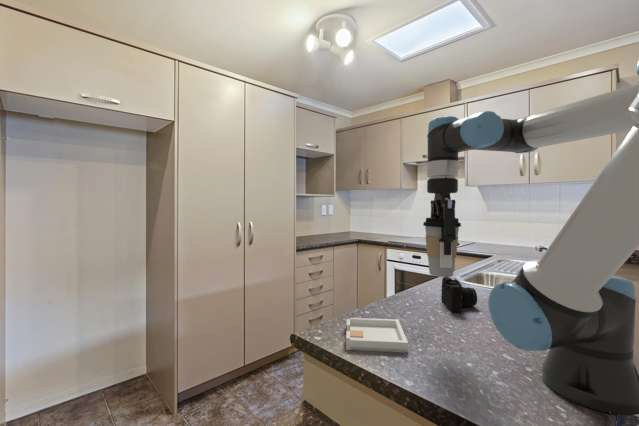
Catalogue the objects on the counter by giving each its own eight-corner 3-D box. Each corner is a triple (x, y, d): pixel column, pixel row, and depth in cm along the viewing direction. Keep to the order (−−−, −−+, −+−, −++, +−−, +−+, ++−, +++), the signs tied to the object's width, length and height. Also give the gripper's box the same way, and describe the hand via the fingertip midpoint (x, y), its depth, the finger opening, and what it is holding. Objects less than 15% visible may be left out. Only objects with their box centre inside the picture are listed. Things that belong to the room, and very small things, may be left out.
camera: (483, 315, 100) (483, 284, 100) (449, 313, 102) (449, 283, 101) (468, 301, 114) (469, 275, 114) (438, 300, 115) (439, 274, 115)
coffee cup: (442, 269, 87) (443, 217, 87) (469, 276, 79) (469, 218, 78) (415, 272, 84) (415, 217, 84) (439, 280, 75) (440, 219, 75)
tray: (407, 352, 74) (408, 342, 74) (346, 349, 76) (346, 339, 76) (398, 328, 89) (398, 319, 89) (346, 325, 91) (346, 317, 91)
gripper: (472, 174, 70) (470, 273, 71) (445, 181, 90) (444, 257, 91) (438, 174, 71) (437, 272, 71) (419, 181, 91) (418, 257, 92)
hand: (441, 264), depth 81 cm, fingers closed on coffee cup, 8 cm apart
